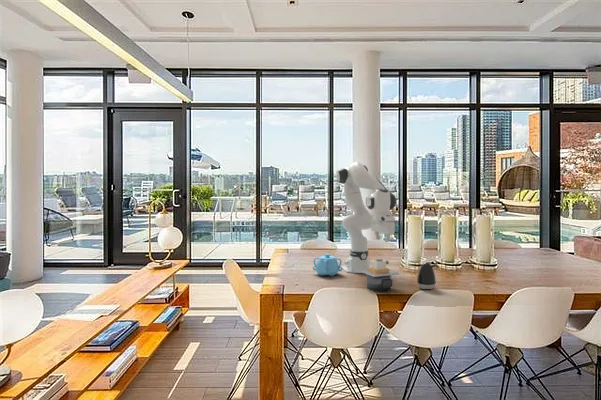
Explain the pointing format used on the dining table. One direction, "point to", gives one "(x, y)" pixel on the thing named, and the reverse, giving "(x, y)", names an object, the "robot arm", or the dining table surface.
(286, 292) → the dining table surface
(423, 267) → the pump dispenser
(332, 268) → the decorative pot
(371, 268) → the clip collar
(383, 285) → the motor
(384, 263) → the pump housing
